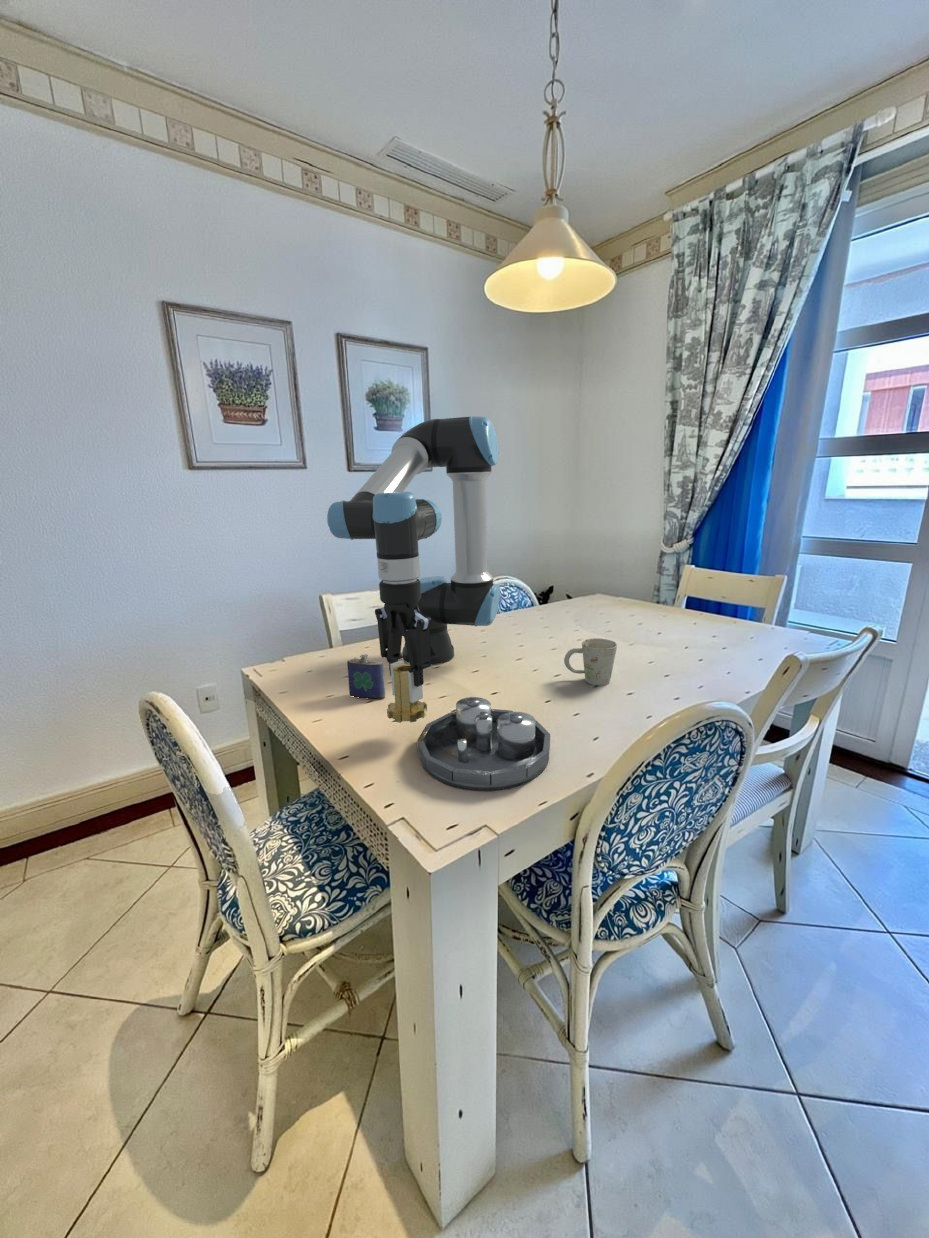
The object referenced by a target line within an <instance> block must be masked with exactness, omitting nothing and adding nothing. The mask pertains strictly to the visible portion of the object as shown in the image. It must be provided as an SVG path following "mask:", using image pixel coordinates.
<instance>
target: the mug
mask: <svg viewBox="0 0 929 1238" xmlns="http://www.w3.org/2000/svg"><path fill="white" fill-rule="evenodd" d="M617 648H618V645H617V643H616V641H614V640H611V639H606V638H599V637H598V638H595V637H594V638H593V637H592V638H587V639H584V640H583V641H582V642H581V648H580V647H578V648H577V647H575V648H571V649H570V650H567V653H566V654H565V655H564V659H563V663H564V667H566V669H567V670H569V671H570V672H571V673H574V674H584V680H585V682H586V684H587V683H588V684H589V685H593V686H606V685H609V684H610V682H611V678H612V674H613V669H614V668H613V667H614V663H615V659H616V654H617ZM574 654H582V660H583V669H584V670H583V669H575V668H573V666H572V665H571V664H570V658H571V656H572V655H574Z"/></svg>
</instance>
